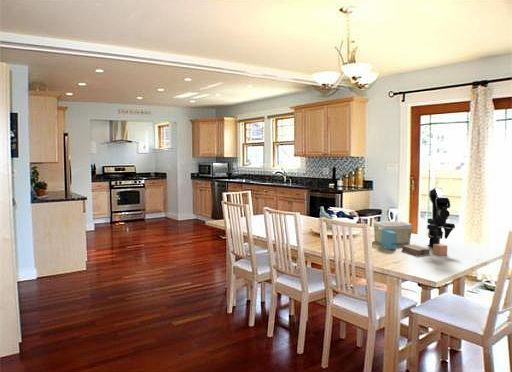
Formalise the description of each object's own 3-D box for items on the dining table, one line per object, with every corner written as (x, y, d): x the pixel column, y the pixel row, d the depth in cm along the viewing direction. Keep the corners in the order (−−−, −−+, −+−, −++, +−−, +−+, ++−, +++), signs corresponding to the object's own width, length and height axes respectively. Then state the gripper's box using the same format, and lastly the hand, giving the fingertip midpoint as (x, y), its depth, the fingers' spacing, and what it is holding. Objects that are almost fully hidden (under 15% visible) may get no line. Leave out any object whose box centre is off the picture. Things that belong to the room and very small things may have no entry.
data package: (396, 249, 274) (397, 232, 273) (390, 250, 273) (391, 233, 272) (386, 246, 286) (387, 229, 285) (381, 246, 285) (381, 229, 284)
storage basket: (399, 239, 309) (400, 220, 308) (413, 243, 293) (413, 224, 292) (372, 240, 303) (372, 221, 302) (384, 245, 287) (384, 225, 286)
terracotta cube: (439, 252, 268) (440, 243, 268) (447, 254, 263) (447, 245, 262) (432, 253, 266) (433, 244, 266) (440, 255, 261) (440, 246, 260)
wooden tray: (413, 250, 275) (414, 244, 275) (429, 255, 262) (429, 249, 262) (402, 251, 272) (402, 245, 271) (417, 256, 259) (417, 250, 258)
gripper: (442, 213, 273) (441, 235, 275) (421, 214, 266) (420, 238, 268) (455, 215, 263) (454, 239, 265) (434, 217, 256) (433, 241, 258)
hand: (440, 239), depth 264 cm, fingers open, 9 cm apart
